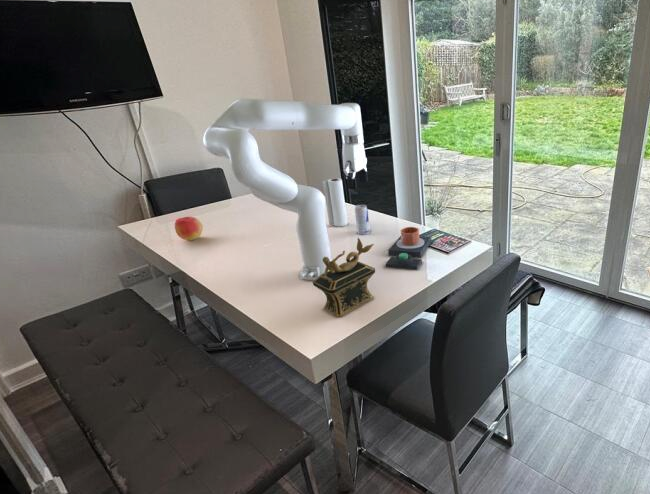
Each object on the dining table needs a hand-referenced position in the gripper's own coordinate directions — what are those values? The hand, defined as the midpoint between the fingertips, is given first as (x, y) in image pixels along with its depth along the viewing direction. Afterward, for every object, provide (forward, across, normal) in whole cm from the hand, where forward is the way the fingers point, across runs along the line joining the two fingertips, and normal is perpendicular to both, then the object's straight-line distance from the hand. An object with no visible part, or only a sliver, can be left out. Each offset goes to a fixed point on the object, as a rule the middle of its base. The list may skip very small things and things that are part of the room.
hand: (358, 185), depth 153 cm
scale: (+26, -3, +18) cm, 32 cm away
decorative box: (+26, +38, +13) cm, 48 cm away
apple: (+26, +4, -78) cm, 82 cm away
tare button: (+24, +11, +20) cm, 33 cm away
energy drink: (+26, -16, -8) cm, 32 cm away
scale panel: (+26, +11, +20) cm, 35 cm away
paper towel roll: (+26, -23, -23) cm, 42 cm away
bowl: (+24, -3, +18) cm, 30 cm away
